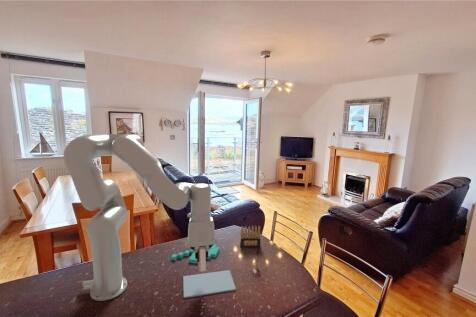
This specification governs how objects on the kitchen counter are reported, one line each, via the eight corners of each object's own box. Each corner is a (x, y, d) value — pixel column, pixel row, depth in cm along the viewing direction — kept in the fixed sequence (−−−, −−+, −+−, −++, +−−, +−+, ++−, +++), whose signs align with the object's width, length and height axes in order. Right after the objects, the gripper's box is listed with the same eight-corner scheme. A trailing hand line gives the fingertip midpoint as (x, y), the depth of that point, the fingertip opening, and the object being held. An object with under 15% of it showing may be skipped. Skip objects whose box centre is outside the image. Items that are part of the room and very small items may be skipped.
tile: (199, 271, 89) (199, 250, 88) (198, 261, 96) (197, 241, 94) (205, 271, 89) (205, 249, 88) (203, 260, 96) (203, 240, 95)
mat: (183, 298, 86) (183, 296, 86) (183, 277, 98) (183, 276, 98) (235, 290, 91) (235, 288, 91) (229, 271, 103) (229, 270, 103)
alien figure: (171, 260, 110) (211, 266, 106) (171, 256, 110) (211, 262, 106) (188, 240, 130) (222, 244, 126) (188, 236, 129) (223, 241, 125)
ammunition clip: (259, 245, 125) (260, 224, 123) (260, 247, 123) (261, 226, 121) (240, 246, 124) (240, 224, 122) (240, 247, 122) (240, 226, 120)
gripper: (179, 221, 84) (180, 268, 87) (223, 217, 88) (223, 262, 90) (179, 213, 91) (180, 257, 94) (220, 210, 95) (220, 252, 98)
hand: (201, 259), depth 92 cm, fingers closed on tile, 2 cm apart
